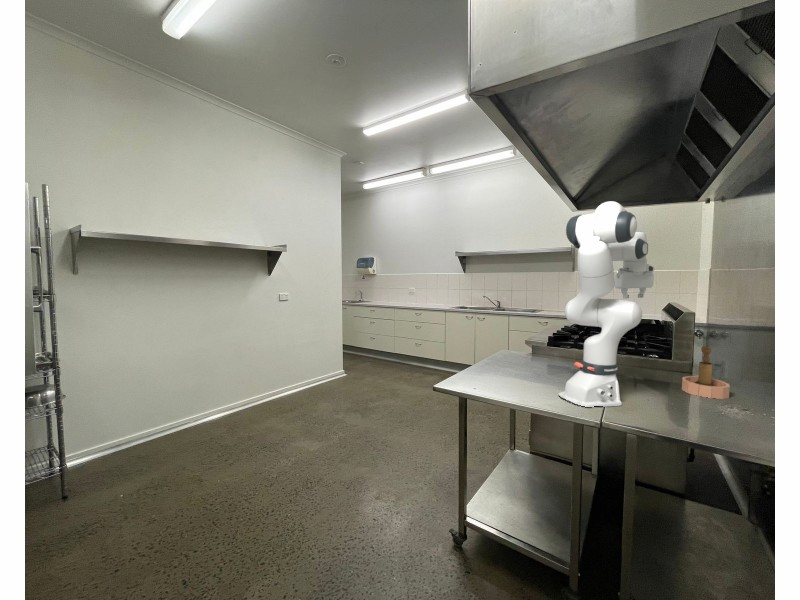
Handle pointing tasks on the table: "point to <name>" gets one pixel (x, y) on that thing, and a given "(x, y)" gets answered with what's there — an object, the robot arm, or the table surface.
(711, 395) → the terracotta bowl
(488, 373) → the table surface
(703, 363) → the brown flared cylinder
